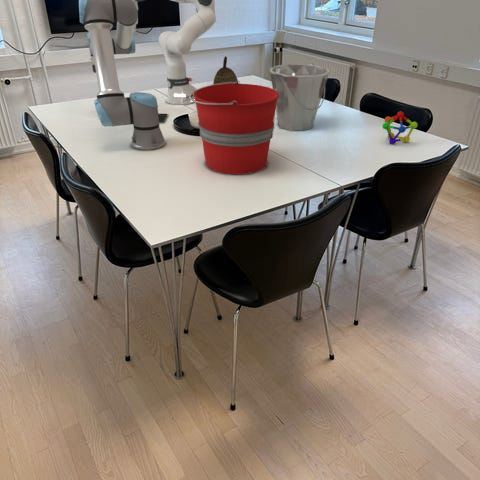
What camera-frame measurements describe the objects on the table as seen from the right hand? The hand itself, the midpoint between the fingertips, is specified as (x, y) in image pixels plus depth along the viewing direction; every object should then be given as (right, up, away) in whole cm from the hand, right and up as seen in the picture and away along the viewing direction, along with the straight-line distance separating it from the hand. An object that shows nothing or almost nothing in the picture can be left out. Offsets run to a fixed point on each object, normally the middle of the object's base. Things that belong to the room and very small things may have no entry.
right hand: (132, 30), depth 278 cm
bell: (+59, -41, +3) cm, 72 cm away
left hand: (-8, -57, -32) cm, 66 cm away
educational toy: (+142, -86, -68) cm, 179 cm away
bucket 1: (+65, -99, -89) cm, 148 cm away
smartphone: (+23, -66, -37) cm, 79 cm away
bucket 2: (+97, -71, -45) cm, 128 cm away
